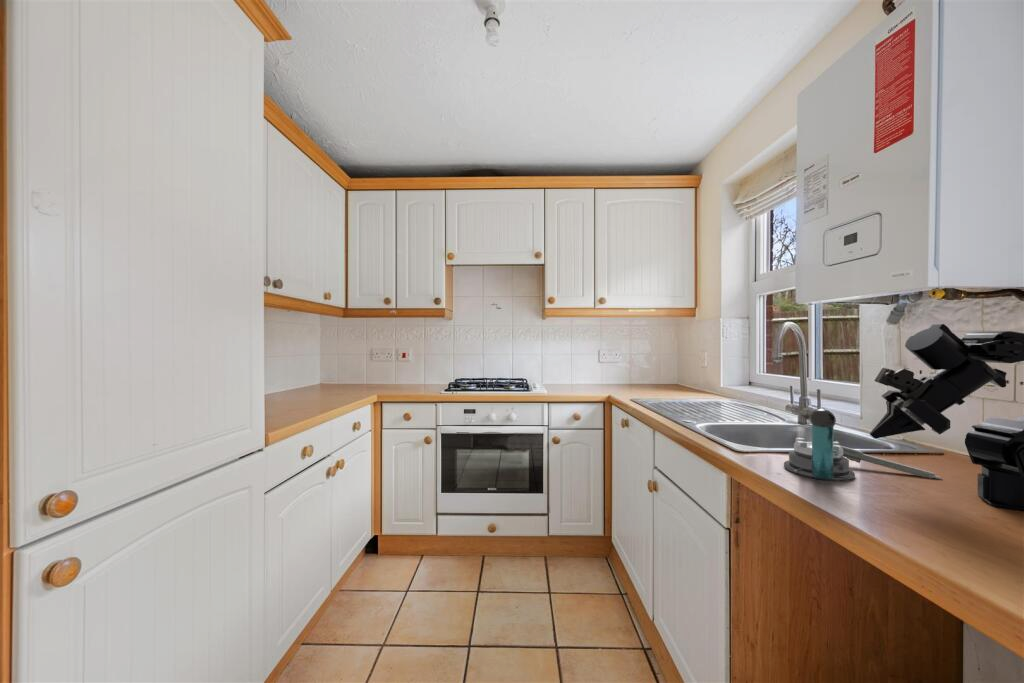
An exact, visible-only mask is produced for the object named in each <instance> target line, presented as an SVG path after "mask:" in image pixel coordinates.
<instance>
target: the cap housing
mask: <svg viewBox="0 0 1024 683" xmlns="http://www.w3.org/2000/svg"><path fill="white" fill-rule="evenodd" d="M783 468H784V469H785V470H786V471H788V472H789V473H792V474H794V473H795V475H797V474H798V475H797V476H802V477H805V478H809V477H810V479H815V480H820V481H828V482H829V481H830V482H851V481H853V480H855V479H856V474H855V472H854V471H853V470H851V469H850V460H849V459H847V458H846V457H843V460H840V461H833V479H823V478H818V477H815V476H813V475H812V459H811V458H806V457H803V456H800V455H797V454H795V453H794V449H793V450H789V451H788V459H787V460H786V461H784V462H783Z"/></svg>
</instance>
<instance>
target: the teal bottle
mask: <svg viewBox="0 0 1024 683" xmlns="http://www.w3.org/2000/svg"><path fill="white" fill-rule="evenodd" d="M809 423H810V424H811V441H806V438H803V437H796V438H795V442H794V443H793V450H794V453H795V454H797V455H800V456H803V457H806V458H811V459H812V475H813V476H815V477H818V478H823V479H833V461H840V460H843V449H842V446H843V445H841V443H840V442H839V441H838V442H836V441H834V426H835V425H836V423H837V418H836V416H835V414H834V413H832V412H831V411H830V410H828V409H825V408H818V409H815V410H814V411H812V412H810V415H809Z"/></svg>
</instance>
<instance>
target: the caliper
mask: <svg viewBox="0 0 1024 683" xmlns="http://www.w3.org/2000/svg"><path fill="white" fill-rule="evenodd" d="M835 442H838V443H839V440H836V441H835ZM841 446H842V449H843V457H845V458H847V459H848V460H849V461H850V462H856V463H859V464H860V463H861V461H863V462H867V463H870V464H874V465H878V466H882V467H885V468H889V469H891V470H896V471H899V472H903V473H908V474H910V475H913V476H917V477H920V476H923V477H922V478H925V477H929V478H928V479H932V478H934V479H936V480H939V479H943V478H942V476H939V475H936V474H935V473H934V472H932V471H928V470H925V469H921V468H919V467H914V466H911V465H906V464H904V463H900V462H896V461H892V460H888V459H885V458H881V457H877V456H874V455H870V454H869V455H868V454H866V453H864V452H863V451H861V450H858V449H855V448H851V447H847V446H843V445H841Z"/></svg>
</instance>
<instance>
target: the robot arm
mask: <svg viewBox="0 0 1024 683" xmlns="http://www.w3.org/2000/svg"><path fill="white" fill-rule="evenodd" d="M904 347H905V348H906V350H908V351H909V352H910V353H912V355H914V356H915V357H916V358H917V359H918V360H919V361H921V362H922V363H923V364H924V365H925V366H927V367H928V368H929V369H931V370H935V371H936V370H937V371H936V372H934V373H933V374H932V375H930V376H926V375H925V376H921V377H919V378H918V379H917V378H914V371H911V370H909V369H906V368H900V369H897V370H893V369H890V368H888V367H882V368H881V369H880V371H879V372H878V374H877V375H876V377H875V378H874V382H876V383H879V384H880V385H881V384H882V385H884V386H888V387H891V388H894V389H896V390H887V391H886V392H885V393H883V394H882V395H881V398H882V399H884V400H885V404H886V413H885V414H884V415H883V417H882V418H881V419H880V420H879V422H878V423H877V424H876V426H874V427H873V429H872V430H871V431H870V433H869V435H870V436H871V437H872V438H873V439H876V440H877V439H881V438H886V437H891V436H896V435H901V434H902V435H903V434H908V433H914V432H921V431H925V430H926V428H925V427H924V425H925V424H926V425H927V426H928V427H930V428H931V430H932V431H933V432H934V433H935V434H938V435H941V434H944V433H945V432H946V431H948V430H949V429H951V420H950V419H949V418H947V417H946V416H945V414H942V413H943V412H944V411H946V410H948V409H949V408H951V407H952V406H954V405H958V406H961V405H962V404H964V403H965V402H966V401H965V400H964V399H965V398H967V397H968V396H970V395H971V394H973V393H974V392H976V391H978V390H980V389H981V388H983V386H984V387H985V385H987V384H988V383H990V384H993V385H995V386H997V387H1000V388H1006V387H1007V379H1006V377H1007V372H1006V371H1003V370H1001V369H998V368H993V367H991V365H989V364H988V363H997V364H999V363H1000V364H1015V363H1019V362H1024V332H1019V331H1018V332H1017V331H1011V330H1009V331H1008V330H1003V331H997V330H996V331H970V332H967V333H965V334H964V336H963V337H962V338H960V337H958V336H957V335H956V334H955V333H953V332H952V331H951V329H950V327H948V326H947V325H946V323H938V324H937V323H933V324H931V326H929V328H925V329H923V330H920V331H918V332H916V333H915V334H914V335H911V336H909V337H908V338H907V340H906V342H905V344H904ZM971 428H972V429H971V430H970V431H968V432H967V433H966V434H965V438H964V445H965V447H966V450H967V453H968V455H969V458H970V461H971V463H972V464H973V465H978V466H981V473H980V472H979V473H977V495H978V496H979V497H980V498H981V499H983V500H984V501H985V502H987V503H988V504H989V505H991V506H993V507H999V508H1006V509H1013V510H1018V511H1019V510H1020V511H1024V415H1021V416H1020V417H1018V418H1015V419H1008V418H1002V417H997V416H991V417H988V418H986V419H985V420H983V421H982V422H981V423H978V424H974V425H971Z"/></svg>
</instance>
